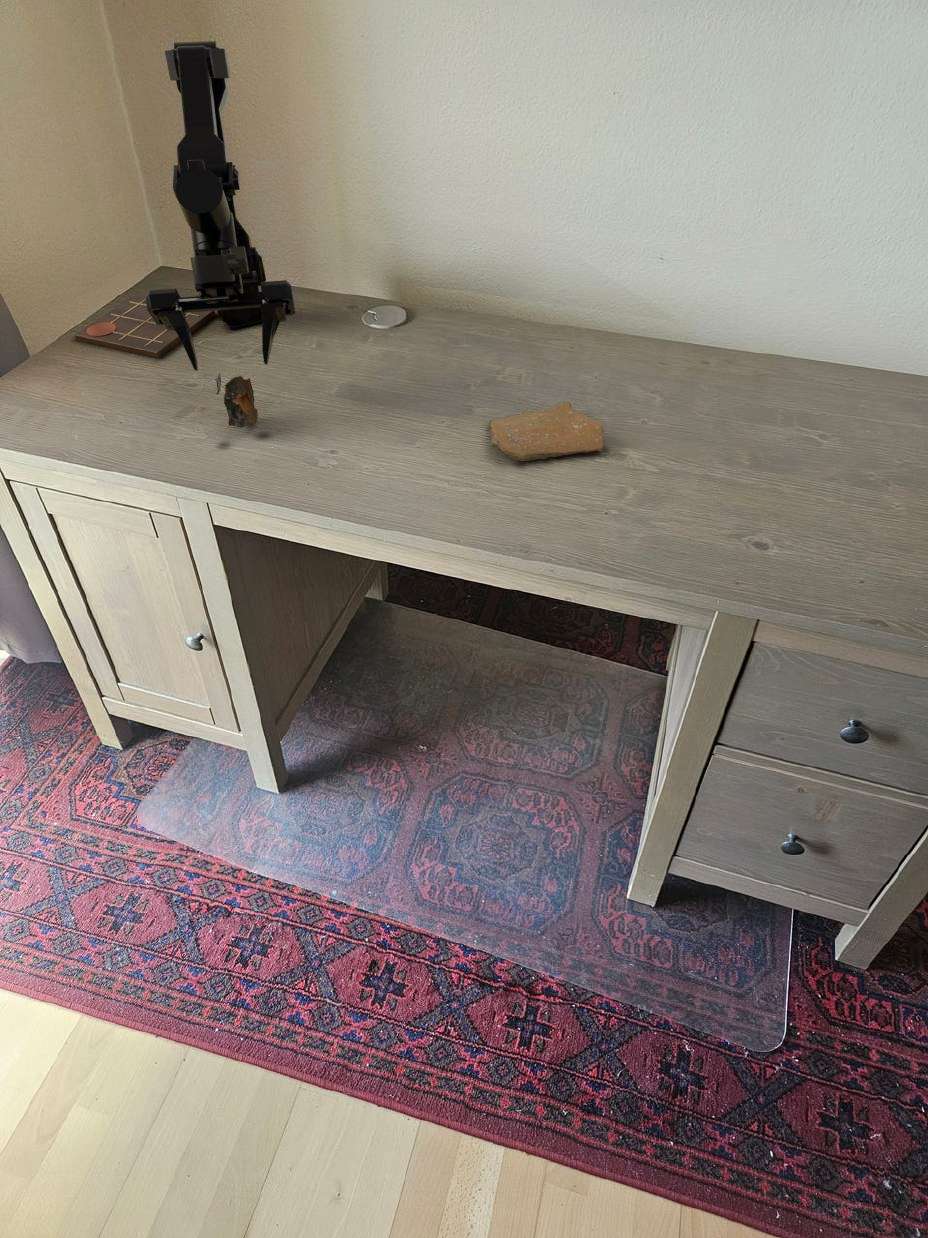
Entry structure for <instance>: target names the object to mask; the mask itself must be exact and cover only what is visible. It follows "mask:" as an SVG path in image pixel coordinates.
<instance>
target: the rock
mask: <svg viewBox="0 0 928 1238" xmlns="http://www.w3.org/2000/svg"><path fill="white" fill-rule="evenodd" d="M214 381H216V389H217V391H216V392H215V393H216V394H215V395H218V396H219V395H220V392H221V387H222V377H221V372H218V374H217V376H216V378H215V379H214ZM224 386H225V387H224V388H225V389H224V395H223V404H224V406H225V408H226V409H225V410H226V413H227V416H228V426H230V427H235V428H236V429H242V428H246V427H249V426H254V425H255V423H257V422H258V419H259V412H258V409H257V408H255V400H256V399H255V396H254V395H255V390H254V388H253V384H252V381H251V378H250V377H248V378H247V379H245V378H244V377H243V376H241V375H238V376H234V377H232V378H230V379H229V381H228V382H227V383H226V384H225V385H224Z"/></svg>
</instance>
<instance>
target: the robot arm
mask: <svg viewBox="0 0 928 1238" xmlns="http://www.w3.org/2000/svg"><path fill="white" fill-rule="evenodd" d="M217 43H218V42H217V40H208V41H206V40H205V41H177V42H175V41H174V42H173V48H172V49H168V50H167V49H166V50H164V55H165V60H166V65H167V66H166V67H167V71H168V77H169V81H171V82H175V83H176V88H177V90H178V92H179V94H180V96H181V109H182V117H183V118H182V119H183V127H184V136H183V137H182V138H181V139H180V141H179V143H178V144H177V145H176V157H177V164H173V175H172V177H173V178H172V190H173V193H174V195H175V198H176V200H177V203H178V205H179V207H180V210H181V212H182V214H183V217H184V219H185V222H186V223H187V226H188V227H189V228H190V234H191V241H192V249H193V256H191V257H190V265H191V269H192V276H193V282H194V290H195V291H196V292H197V293H198V294H199V296H198V295H197V296H186V297H185V296H184V297H181V296H180V294H179V292H178V290H177V288H176V287H175V288H164V289H150V290H148V292H147V294H146V295H145V296H146V305H147V311H148V312H149V314H150V315H151V317H152V318H153V320H154V321H155V323H156V324H157V325H161V326H162V325H164V326H165V327H166V329H167V330H169V331H176V333H177V334H178V336H179V338H180V340H181V342H180V343H181V344H182V346H183V348H184V351H185V352H186V355H187V357H188V359H189V361H190V364H191V366H192V368H193V370H194V371H196V372H197V371H199V363H198V356H197V353H196V348H195V344H194V341H193V340H194V339H193V336H192V333H191V332H190V327H189V325H188V323H187V321H186V319H185V318H186V315H185V313H191V312H204V311H215V312H216V311H217V315H218V317H219V319H220V320H221V321H222V323H224V324H225V325H226V326H227V327H228V329H230V330H237V329H241V328H243V327H248V326H252V325H257V324H261V346H262V347H261V349H262V350H261V351H262V358H263V364H264V365H269V360H270V355H271V352H272V347H273V342H274V339H275V336H276V334H277V330H278V328H279V326H280V323H284V322H286V321H287V316H293V315H295V314H296V307H295V301H294V300H295V299H294V294H293V287H292V283H290V282H289V281H288V280H287V279H285V280H283V279H282V280H269V281H267V276H266V271H265V266H264V261H263V256H262V255H260V254H259V251H258V250H257V247H256V246H252V245H253V244H252V240H251V236H250V234H249V233H248V232H247V230H246V229H245V228H244V226H243V225H242V223H241V221H240V220H239V219H238V212H237V206H236V199H235V196H237V193H238V191H241V175H240V172H239V170H238V169H237V168H236V165H235V164H234V162H233V161H229V156H228V149H227V142H226V136H225V129H224V122H223V117H222V116H223V115H222V113H223V110H224V107H225V104H226V101H227V99H228V97H229V88H228V79H231V70H230V65H229V58H228V52H227V49H225V48H219V47H218V44H217ZM259 287H260V288H259ZM260 290H261V291H260Z"/></svg>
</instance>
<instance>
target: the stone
mask: <svg viewBox="0 0 928 1238" xmlns="http://www.w3.org/2000/svg"><path fill="white" fill-rule="evenodd" d="M487 425H488V427H489V432H490V435H491V436H490V438H491V439H490V441H491V446H492V447H493V448H494V449H497V450H499V451H501V452H503V453H504V454H505V455H506V456H507V457H509V458H510V459H513V460H515V461H521V462H529V461H535V460H546V459H548V458H557V457H562V456H569V455H575V454H579V453H583V454H587V453H591V452H602V451H603V449H604V440H603V433H604V428H603V425H602V424H601V423H600V422H599V421H596V420H595V419H592V418H590V417H589V416H587V415H586V414H583V413H582V412H580V411H578V410H577V409H575V408H573V406H572V404H571V402H569V401H566V400H564V401H562V402H560V403H559V402H558V404H555V405H553V406H551V407H548V408H543V409H539V410H533V411H529V412H525V413H519V414H517V415H511V416H504V417H500V418H499V417H498V418H493V419H489V421H488V422H487Z"/></svg>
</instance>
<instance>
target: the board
mask: <svg viewBox="0 0 928 1238" xmlns="http://www.w3.org/2000/svg"><path fill="white" fill-rule="evenodd" d="M185 315H186V318H185V319H186V321H187V323H188V325H189V327H190V332H191V334H193V333H194V332H195V331H197V330H198V329H199V328H200V327H202V326H203V325H204V324H206V323H207V322H209V321H210V320H211V319H212V318H214V317H215V316H216V311H204V312H191V313H185ZM74 337H75V340H76V341H78V342H83V343H87V344H91V345H96V346H101V347H105V348H109V349H115V350H119V351H123V352H128V353H133V354H137V355H142V356H146V357H151V358H155V359H160V358H162V357H163V356H164V355H165V354H167V353H168V352H169V351H170V350H172V349H173V348H175V347H176V346H178V344H180V343H182V342H181V340H180V338H179V336H178V334H177V333H176V331H169V330H167V329H166V327H165V326H164V325H162V326H161V325H157V324H156V323H155V321H154V320H153V318H152V317H151V315H150V314H149V312H148V311H147V305H146V295H141V294H134V295H133V296H131V297H130V298H128V299H126V300H125V301H123V302H122V303H121V304H119V305H117V306H116V307H114V308H113V309H112V310H110V311H108V312H107V313H105V314H104V315H102V316H101V317H99V318H97V319H96V320H94V321H93V322H92V323H90V324H89V325H87V326H85V327H84V328H82V329H81V330H80V331H78V332H76V333H75V334H74Z"/></svg>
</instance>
